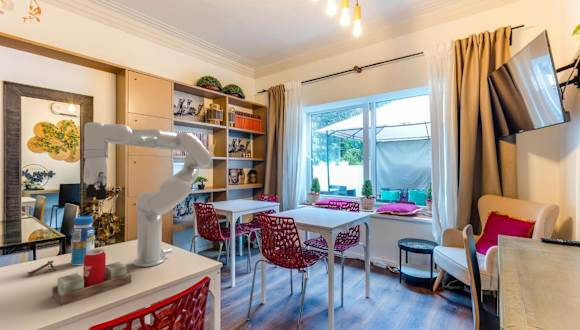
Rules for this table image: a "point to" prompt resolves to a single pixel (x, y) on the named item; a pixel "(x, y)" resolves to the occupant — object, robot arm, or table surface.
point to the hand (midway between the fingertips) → (95, 198)
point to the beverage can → (94, 267)
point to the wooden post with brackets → (42, 268)
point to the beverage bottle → (82, 239)
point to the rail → (74, 289)
